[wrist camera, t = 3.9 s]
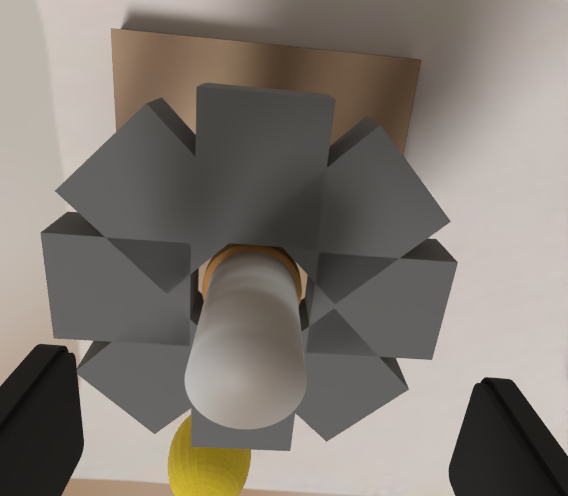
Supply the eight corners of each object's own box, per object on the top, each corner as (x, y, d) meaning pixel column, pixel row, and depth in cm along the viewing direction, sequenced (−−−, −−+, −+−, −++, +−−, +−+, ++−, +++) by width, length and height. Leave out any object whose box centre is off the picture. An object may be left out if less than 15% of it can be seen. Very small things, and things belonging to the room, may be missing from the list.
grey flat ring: (468, 107, 15) (496, 114, 13) (393, 418, 20) (406, 455, 18) (53, 67, 14) (19, 69, 12) (86, 403, 19) (66, 441, 17)
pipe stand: (412, 59, 25) (694, 65, 9) (366, 308, 31) (477, 592, 15) (119, 29, 24) (-210, -31, 7) (131, 293, 30) (-35, 581, 14)
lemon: (174, 433, 35) (149, 533, 28) (187, 378, 33) (164, 470, 26) (243, 445, 36) (237, 546, 29) (260, 392, 34) (258, 485, 26)
